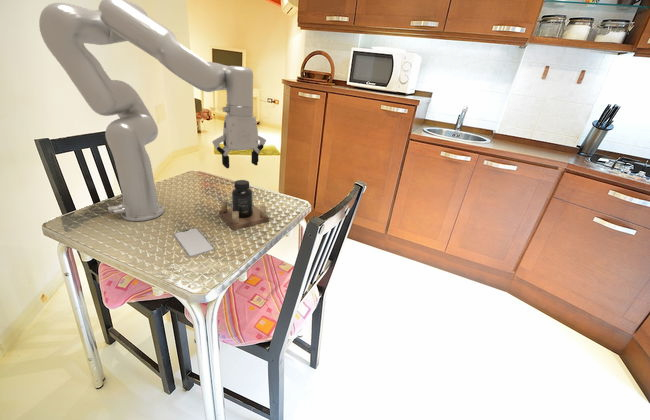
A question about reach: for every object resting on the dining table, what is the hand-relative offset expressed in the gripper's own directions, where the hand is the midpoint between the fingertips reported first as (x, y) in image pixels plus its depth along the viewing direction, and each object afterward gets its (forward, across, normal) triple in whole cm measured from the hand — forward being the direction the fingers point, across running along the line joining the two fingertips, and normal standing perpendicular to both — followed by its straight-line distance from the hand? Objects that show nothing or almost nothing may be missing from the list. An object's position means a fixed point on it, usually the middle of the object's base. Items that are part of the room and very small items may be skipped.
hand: (240, 165), depth 96 cm
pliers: (+20, +4, +14) cm, 24 cm away
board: (+19, +1, 0) cm, 19 cm away
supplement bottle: (+18, 0, 0) cm, 18 cm away
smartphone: (+20, -19, -8) cm, 29 cm away
